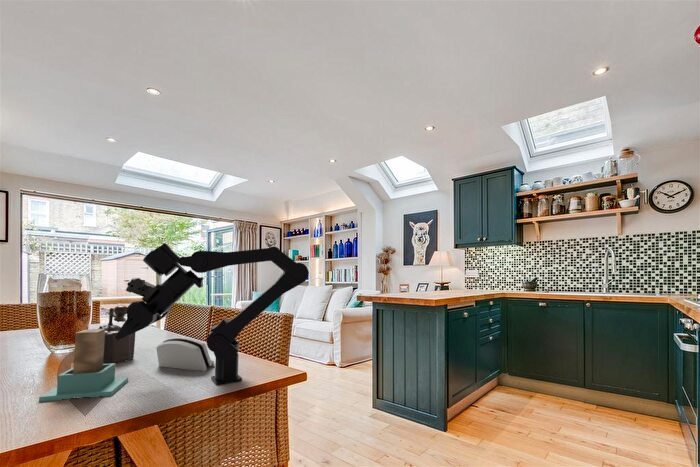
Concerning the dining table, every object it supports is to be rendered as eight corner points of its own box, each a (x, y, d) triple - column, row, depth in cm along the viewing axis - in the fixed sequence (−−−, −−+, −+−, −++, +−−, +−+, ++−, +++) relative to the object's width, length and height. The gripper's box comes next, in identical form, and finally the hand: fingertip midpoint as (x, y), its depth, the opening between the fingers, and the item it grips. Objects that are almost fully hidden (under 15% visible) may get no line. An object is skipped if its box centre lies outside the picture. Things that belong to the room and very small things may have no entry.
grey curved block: (216, 366, 106) (209, 336, 104) (205, 376, 102) (198, 344, 100) (171, 361, 112) (164, 332, 109) (159, 371, 107) (151, 341, 105)
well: (127, 381, 92) (129, 361, 93) (111, 395, 82) (112, 373, 82) (64, 385, 89) (66, 365, 89) (38, 401, 78) (40, 378, 79)
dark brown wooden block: (76, 365, 108) (80, 304, 110) (110, 356, 119) (113, 301, 121) (116, 368, 104) (120, 306, 106) (147, 359, 115) (150, 302, 116)
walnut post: (101, 382, 88) (105, 328, 90) (94, 388, 84) (97, 331, 85) (80, 384, 87) (84, 329, 88) (71, 390, 83) (75, 332, 84)
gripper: (159, 267, 100) (112, 308, 96) (137, 266, 82) (79, 318, 78) (188, 294, 102) (144, 336, 98) (174, 300, 84) (118, 352, 80)
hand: (123, 335), depth 88 cm, fingers open, 9 cm apart
